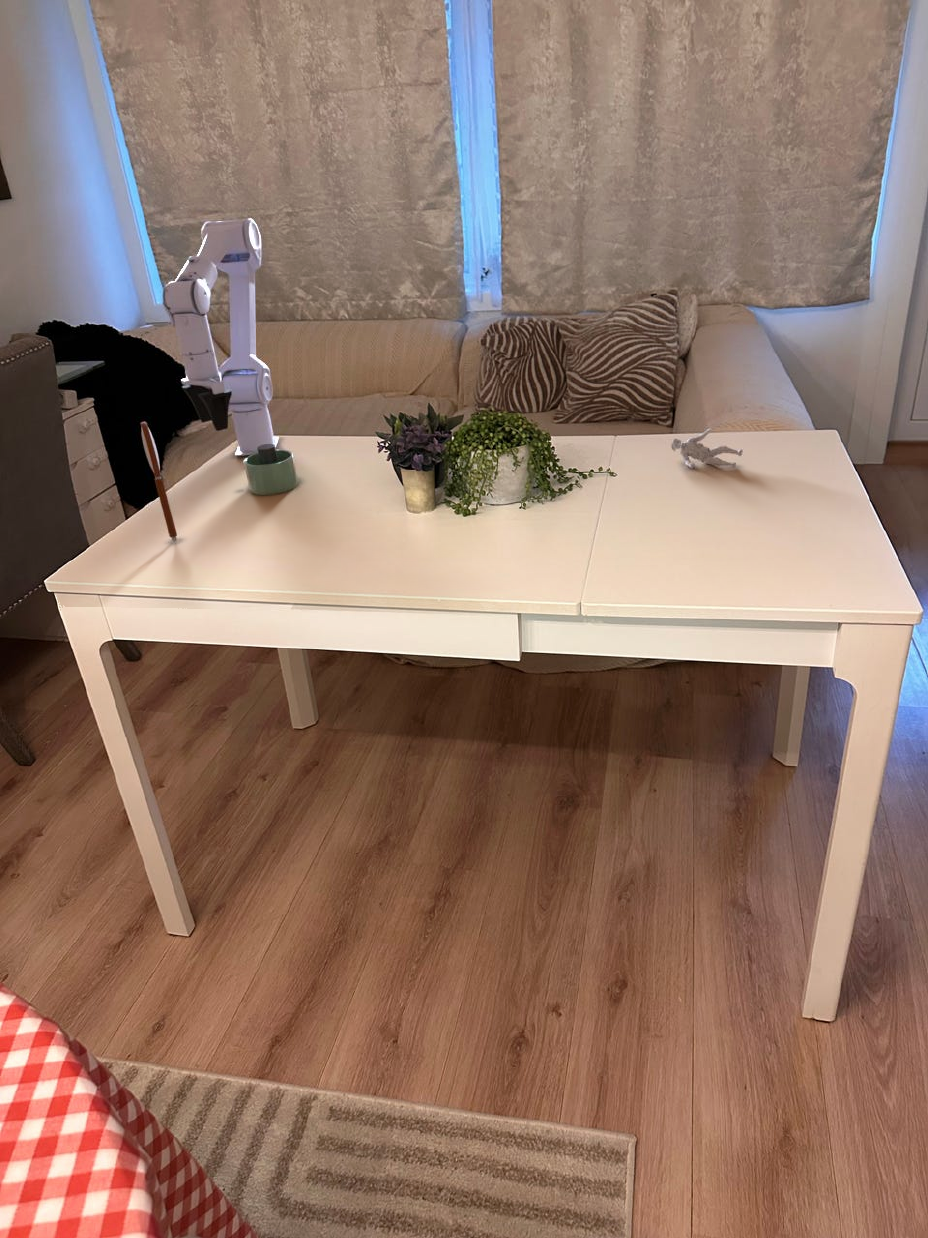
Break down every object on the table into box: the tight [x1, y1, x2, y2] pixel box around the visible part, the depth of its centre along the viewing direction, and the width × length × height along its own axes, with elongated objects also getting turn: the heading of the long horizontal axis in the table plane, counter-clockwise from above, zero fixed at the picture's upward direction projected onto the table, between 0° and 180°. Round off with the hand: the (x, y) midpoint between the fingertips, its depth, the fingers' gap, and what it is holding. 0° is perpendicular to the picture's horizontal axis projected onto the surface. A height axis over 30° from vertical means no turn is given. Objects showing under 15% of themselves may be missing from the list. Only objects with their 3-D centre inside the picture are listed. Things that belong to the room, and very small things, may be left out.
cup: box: [243, 449, 299, 496], centre depth 168 cm, size 9×9×6 cm
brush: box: [257, 444, 278, 465], centre depth 167 cm, size 3×3×7 cm
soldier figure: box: [670, 428, 744, 469], centre depth 159 cm, size 8×5×12 cm
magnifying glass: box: [140, 421, 178, 542], centre depth 145 cm, size 9×2×20 cm, turn 22°
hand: (214, 425), depth 170 cm, fingers open, 7 cm apart
